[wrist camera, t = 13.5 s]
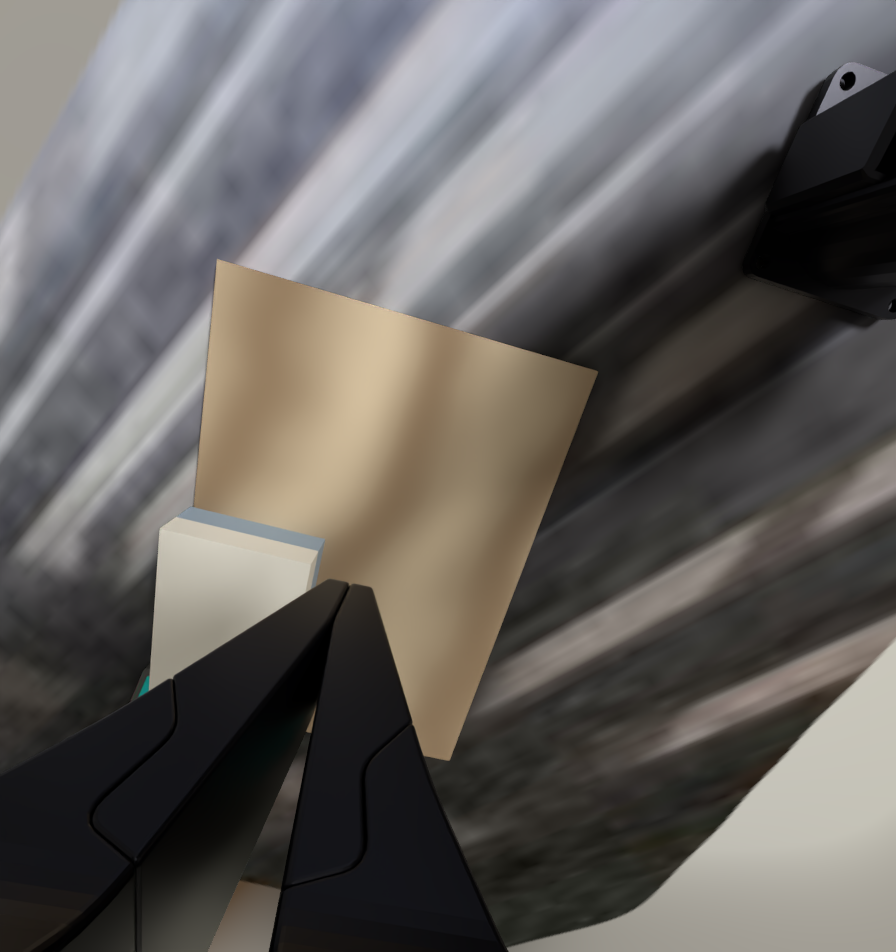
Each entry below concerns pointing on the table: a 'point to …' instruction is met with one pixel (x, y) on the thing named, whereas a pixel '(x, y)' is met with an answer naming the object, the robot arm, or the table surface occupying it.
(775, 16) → the table surface
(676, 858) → the table surface
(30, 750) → the table surface
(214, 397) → the mat
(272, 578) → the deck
